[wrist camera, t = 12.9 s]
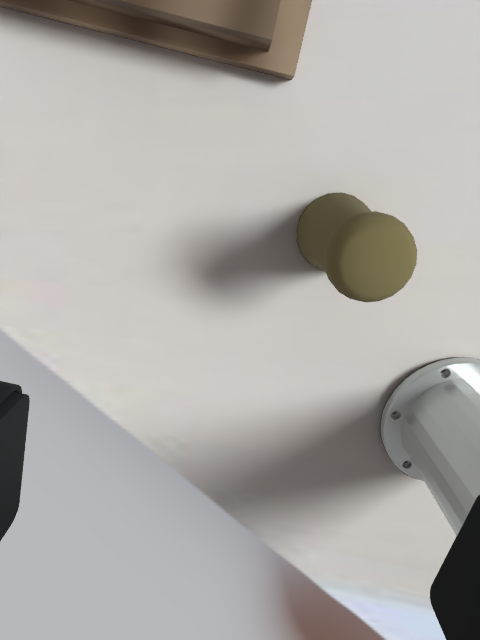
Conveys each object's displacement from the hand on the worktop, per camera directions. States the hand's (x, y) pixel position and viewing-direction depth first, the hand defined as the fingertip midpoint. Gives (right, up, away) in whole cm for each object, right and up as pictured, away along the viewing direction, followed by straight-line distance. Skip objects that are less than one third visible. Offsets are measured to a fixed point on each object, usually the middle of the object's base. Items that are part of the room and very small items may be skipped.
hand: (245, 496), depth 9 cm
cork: (+7, +10, +26) cm, 29 cm away
